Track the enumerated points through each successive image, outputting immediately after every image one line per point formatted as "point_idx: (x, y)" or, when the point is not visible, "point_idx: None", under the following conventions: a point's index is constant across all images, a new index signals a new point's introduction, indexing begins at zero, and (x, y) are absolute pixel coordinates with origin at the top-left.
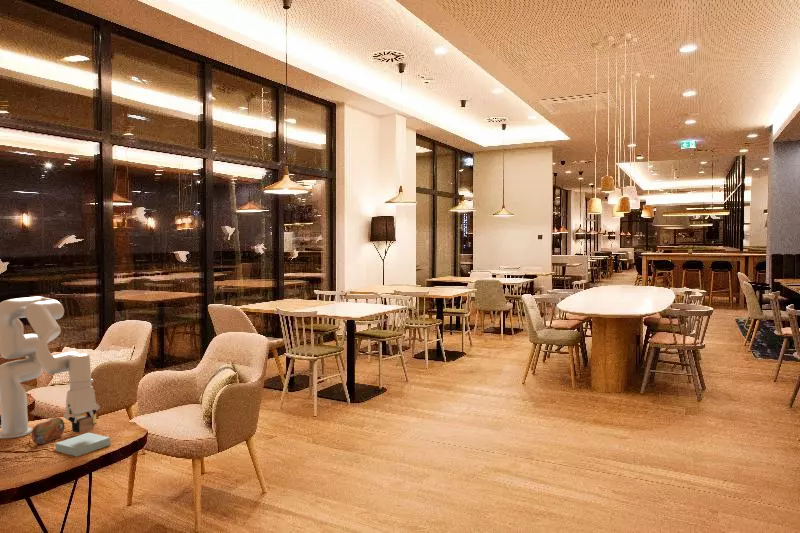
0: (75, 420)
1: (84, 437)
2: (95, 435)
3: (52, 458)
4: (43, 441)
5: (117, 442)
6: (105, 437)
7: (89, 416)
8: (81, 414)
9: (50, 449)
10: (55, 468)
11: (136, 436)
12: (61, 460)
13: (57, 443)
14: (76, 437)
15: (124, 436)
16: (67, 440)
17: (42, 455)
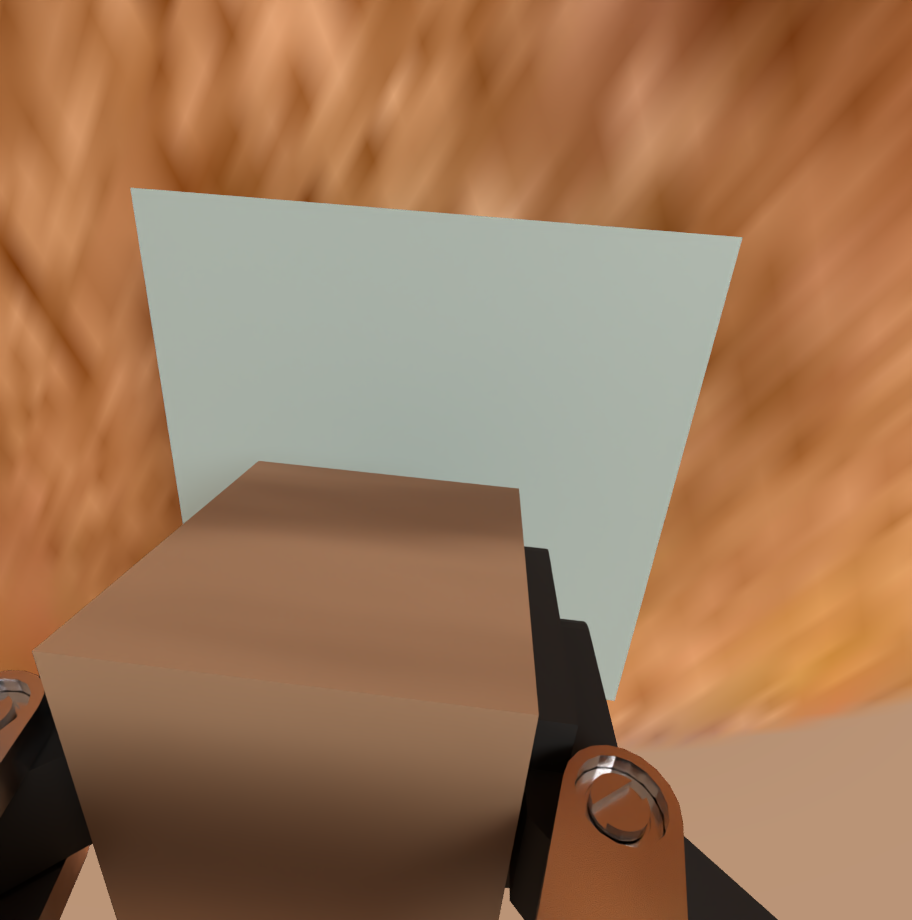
0: (9, 881)
1: (509, 404)
2: (632, 484)
3: (76, 417)
4: None
5: (679, 646)
6: (601, 655)
7: (524, 897)
8: None
9: (185, 60)
10: (14, 640)
11: (894, 687)
12: (114, 544)
13: (148, 242)
14: (464, 274)
15: (884, 579)
16: (306, 266)
17: (30, 202)
